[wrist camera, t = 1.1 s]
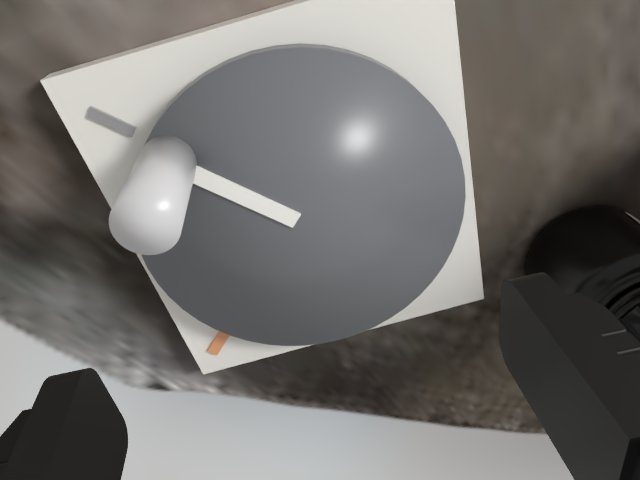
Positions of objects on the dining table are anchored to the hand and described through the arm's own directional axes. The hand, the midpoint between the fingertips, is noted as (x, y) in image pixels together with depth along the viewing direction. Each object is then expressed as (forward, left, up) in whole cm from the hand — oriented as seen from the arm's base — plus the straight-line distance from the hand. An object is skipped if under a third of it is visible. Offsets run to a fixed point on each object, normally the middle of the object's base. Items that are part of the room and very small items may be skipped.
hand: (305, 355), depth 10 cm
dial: (+1, +8, -21) cm, 23 cm away
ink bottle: (-18, +19, -23) cm, 35 cm away
